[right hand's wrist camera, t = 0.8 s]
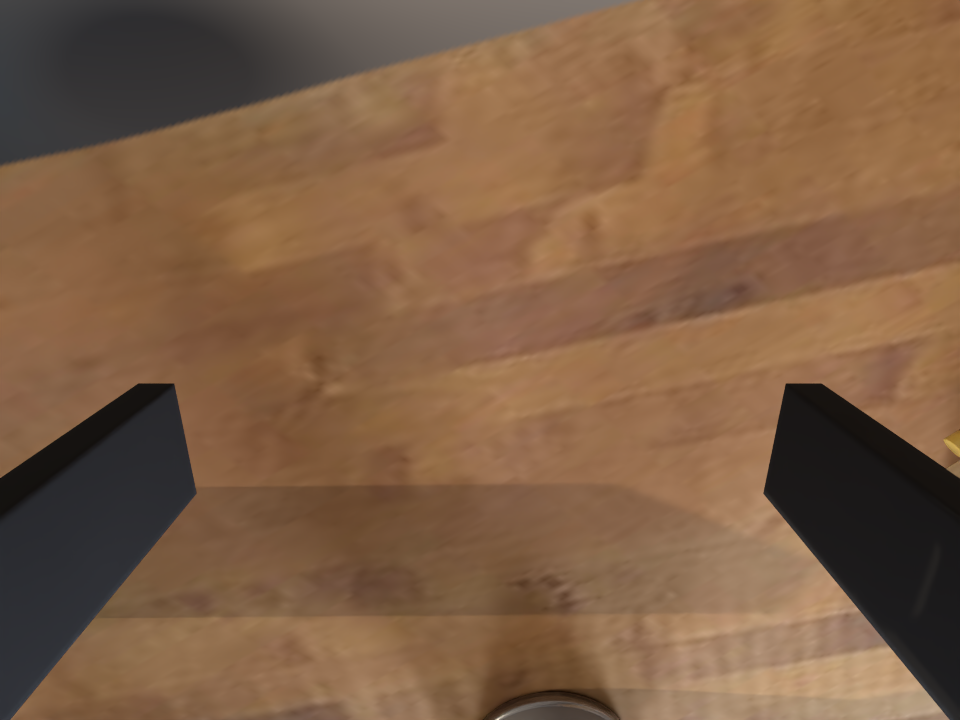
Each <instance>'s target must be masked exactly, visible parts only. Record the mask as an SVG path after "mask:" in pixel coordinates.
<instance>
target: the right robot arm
mask: <svg viewBox="0 0 960 720" xmlns="http://www.w3.org/2000/svg"><path fill="white" fill-rule="evenodd" d="M196 494H197V493H196V488H195V483H194V478H193V474H192V469H191V464H190V459H189V454H188V449H187V444H186V439H185V434H184V429H183V425H182V420H181V415H180V410H179V405H178V400H177V395H176V390H175V385H174V384H137V385H136V386H134V387H133V388H131V389H130V390H128V391H127V392H125V393H124V394H123V395H121V396H120V397H118V398H117V399H115V400H114V401H112V402H111V403H109V404H108V405H106V406H105V407H104V408H102V409H101V410H99V411H98V412H96V413H95V414H93V415H92V416H90V417H89V418H88V419H86V420H85V421H83V422H82V423H80V424H79V425H77V426H76V427H74V428H73V429H71V430H70V431H69V432H67V433H66V434H64V435H63V436H61V437H60V438H58V439H57V440H55V441H54V442H52V443H51V444H50V445H48V446H47V447H45V448H44V449H42V450H41V451H39V452H38V453H36V454H35V455H34V456H32V457H31V458H29V459H28V460H26V461H25V462H23V463H22V464H20V465H19V466H17V467H16V468H15V469H13V470H12V471H10V472H9V473H7V474H6V475H4V476H3V477H1V478H0V720H10V719H11V718H12V717H13V716H14V714H15V713H16V712H17V711H18V710H19V708H20V707H21V706H22V705H23V703H24V702H25V701H26V700H27V699H28V697H29V696H30V695H31V694H32V693H33V691H34V690H35V689H36V688H37V687H38V685H39V684H40V683H41V682H42V680H43V679H44V678H45V677H46V676H47V674H48V673H49V672H50V671H51V670H52V668H53V667H54V666H55V665H56V663H57V662H58V661H59V660H60V659H61V657H62V656H63V655H64V654H65V653H66V651H67V650H68V649H69V648H70V646H71V645H72V644H73V643H74V642H75V640H76V639H77V638H78V637H79V636H80V634H81V633H82V632H83V631H84V629H85V628H86V627H87V626H88V625H89V623H90V622H91V621H92V620H93V619H94V617H95V616H96V615H97V614H98V612H99V611H100V610H101V609H102V608H103V606H104V605H105V604H106V603H107V602H108V600H109V599H110V598H111V597H112V595H113V594H114V593H115V592H116V591H117V589H118V588H119V587H120V586H121V585H122V583H123V582H124V581H125V580H126V578H127V577H128V576H129V575H130V574H131V572H132V571H133V570H134V569H135V568H136V566H137V565H138V564H139V563H140V562H141V560H142V559H143V558H144V557H145V555H146V554H147V553H148V552H149V551H150V549H151V548H152V547H153V546H154V545H155V543H156V542H157V541H158V540H159V538H160V537H161V536H162V535H163V534H164V532H165V531H166V530H167V529H168V528H169V526H170V525H171V524H172V523H173V521H174V520H175V519H176V518H177V517H178V515H179V514H180V513H181V512H182V511H183V509H184V508H185V507H186V506H187V504H188V503H189V502H190V501H191V500H192V498H193V497H194V496H195V495H196ZM763 494H764V495H765V496H766V497H767V498H768V500H769V501H770V502H771V503H772V504H773V506H774V507H775V508H776V509H777V511H778V512H779V513H780V514H781V515H782V517H783V518H784V519H785V520H786V521H787V523H788V524H789V525H790V526H791V528H792V529H793V530H794V531H795V532H796V534H797V535H798V536H799V537H800V538H801V540H802V541H803V542H804V543H805V545H806V546H807V547H808V548H809V549H810V551H811V552H812V553H813V554H814V555H815V557H816V558H817V559H818V560H819V562H820V563H821V564H822V565H823V566H824V568H825V569H826V570H827V571H828V572H829V574H830V575H831V576H832V577H833V579H834V580H835V581H836V582H837V583H838V585H839V586H840V587H841V588H842V589H843V591H844V592H845V593H846V594H847V595H848V597H849V598H850V599H851V600H852V602H853V603H854V604H855V605H856V606H857V608H858V609H859V610H860V611H861V612H862V614H863V615H864V616H865V617H866V619H867V620H868V621H869V622H870V623H871V625H872V626H873V627H874V628H875V629H876V631H877V632H878V633H879V634H880V636H881V637H882V638H883V639H884V640H885V642H886V643H887V644H888V645H889V646H890V648H891V649H892V650H893V651H894V653H895V654H896V655H897V656H898V657H899V659H900V660H901V661H902V662H903V663H904V665H905V666H906V667H907V668H908V670H909V671H910V672H911V673H912V674H913V676H914V677H915V678H916V679H917V680H918V682H919V683H920V684H921V685H922V687H923V688H924V689H925V690H926V691H927V693H928V694H929V695H930V696H931V697H932V699H933V700H934V701H935V702H936V703H937V705H938V706H939V707H940V708H941V710H942V711H943V712H944V713H945V714H946V716H947V717H948V718H949V719H950V720H960V478H959V477H957V476H956V475H954V474H953V473H951V472H950V471H948V470H947V469H945V468H944V467H943V466H941V465H940V464H938V463H937V462H935V461H934V460H932V459H931V458H929V457H928V456H926V455H925V454H924V453H922V452H921V451H919V450H918V449H916V448H915V447H913V446H912V445H910V444H909V443H908V442H906V441H905V440H903V439H902V438H900V437H899V436H897V435H896V434H894V433H893V432H891V431H890V430H889V429H887V428H886V427H884V426H883V425H881V424H880V423H878V422H877V421H875V420H874V419H872V418H871V417H870V416H868V415H867V414H865V413H864V412H862V411H861V410H859V409H858V408H856V407H855V406H854V405H852V404H851V403H849V402H848V401H846V400H845V399H843V398H842V397H840V396H839V395H837V394H836V393H835V392H833V391H832V390H830V389H829V388H827V387H826V386H824V385H823V384H786V385H785V390H784V395H783V400H782V405H781V410H780V415H779V420H778V425H777V429H776V434H775V439H774V444H773V449H772V454H771V459H770V464H769V469H768V474H767V478H766V483H765V488H764V493H763ZM483 720H620V719H619V718H618V717H617V716H616V715H615V714H614V713H613V712H612V711H611V710H610V709H609V708H607V707H606V706H604V705H603V704H601V703H599V702H597V701H595V700H593V699H590V698H588V697H585V696H581V695H577V694H572V693H565V692H541V693H534V694H529V695H525V696H521V697H518V698H515V699H513V700H510V701H508V702H506V703H504V704H502V705H501V706H499V707H497V708H496V709H495V710H493V711H492V712H491V713H490V714H488V715H487V716H486V717H485V718H484V719H483Z"/></svg>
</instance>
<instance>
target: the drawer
mask: <svg viewBox="0 0 960 720" xmlns="http://www.w3.org/2000/svg"><path fill="white" fill-rule="evenodd" d="M944 442H945V444H946V445H947V447H948V448H949V449H950V450H951V451H952V452H953V453H954V454H956V455H957V456H958V457H960V429H959V430H958V431H956V432H955V433H953V434H951V435H950V436H948V437H946V438H945V439H944ZM946 469H947V470H948V471H950V472H951V473H953V474H954V475H956V476H957V477H959V478H960V461H958V462H956V463H955V464H953V465H951V466H949V467H948V468H946Z"/></svg>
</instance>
